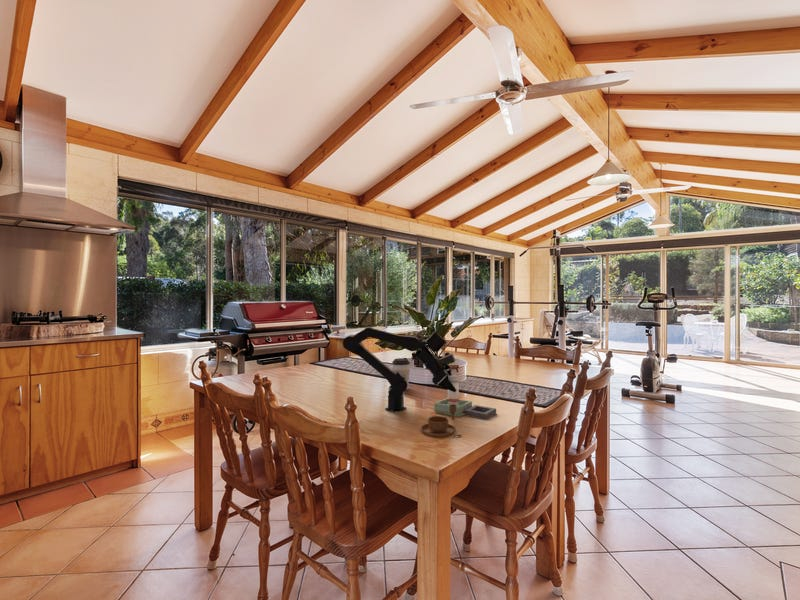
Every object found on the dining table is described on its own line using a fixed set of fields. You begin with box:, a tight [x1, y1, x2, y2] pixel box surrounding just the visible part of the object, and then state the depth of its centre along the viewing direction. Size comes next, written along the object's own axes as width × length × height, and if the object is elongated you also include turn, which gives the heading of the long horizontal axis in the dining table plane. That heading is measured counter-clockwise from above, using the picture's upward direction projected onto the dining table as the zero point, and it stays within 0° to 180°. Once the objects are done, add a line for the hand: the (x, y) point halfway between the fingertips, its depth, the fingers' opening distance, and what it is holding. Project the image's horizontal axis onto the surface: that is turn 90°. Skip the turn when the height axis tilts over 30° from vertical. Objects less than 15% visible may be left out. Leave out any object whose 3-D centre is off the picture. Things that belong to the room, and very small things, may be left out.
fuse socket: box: [464, 404, 497, 420], centre depth 157 cm, size 9×9×2 cm
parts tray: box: [433, 397, 473, 418], centre depth 162 cm, size 11×11×4 cm
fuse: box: [446, 375, 460, 407], centre depth 162 cm, size 5×5×13 cm
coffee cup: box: [391, 357, 411, 391], centre depth 200 cm, size 9×9×15 cm
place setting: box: [420, 405, 462, 440], centre depth 140 cm, size 18×20×6 cm
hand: (456, 388), depth 161 cm, fingers open, 9 cm apart
